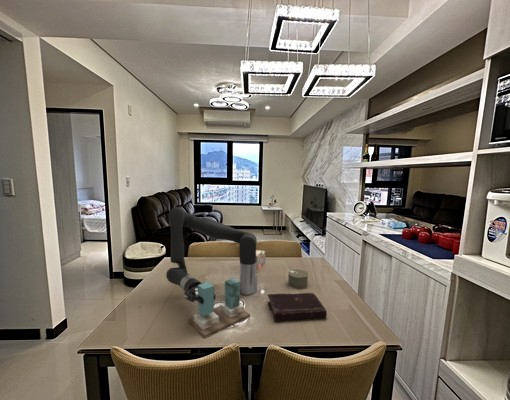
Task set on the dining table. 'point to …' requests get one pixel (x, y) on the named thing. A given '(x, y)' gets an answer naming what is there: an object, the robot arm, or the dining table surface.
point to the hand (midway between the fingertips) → (209, 299)
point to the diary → (296, 307)
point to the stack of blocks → (259, 259)
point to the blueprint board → (222, 312)
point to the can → (297, 278)
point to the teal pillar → (206, 298)
